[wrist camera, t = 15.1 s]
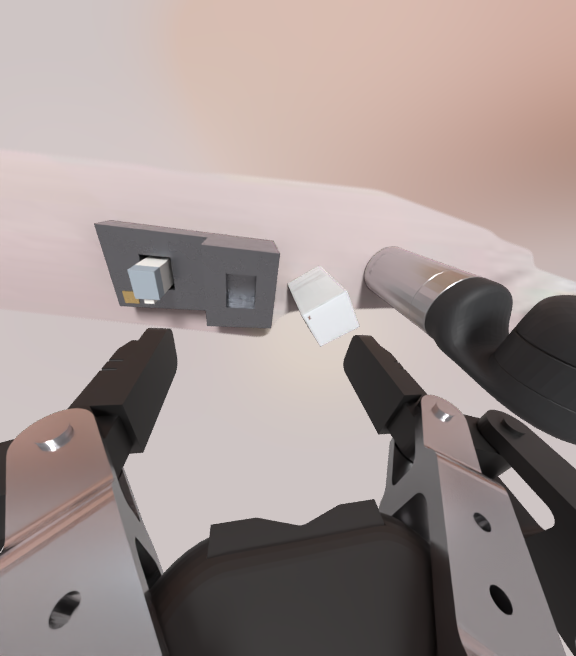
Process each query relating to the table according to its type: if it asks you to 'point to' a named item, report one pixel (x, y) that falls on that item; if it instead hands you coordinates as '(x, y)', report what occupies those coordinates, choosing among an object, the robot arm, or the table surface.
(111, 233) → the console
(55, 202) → the table surface
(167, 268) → the plug
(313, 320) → the supplement box
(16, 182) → the table surface
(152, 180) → the table surface
